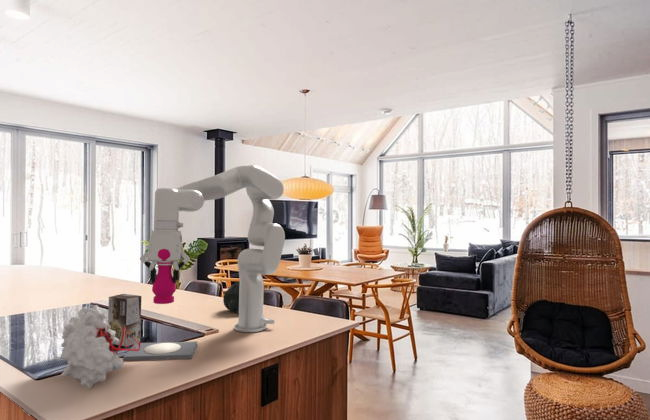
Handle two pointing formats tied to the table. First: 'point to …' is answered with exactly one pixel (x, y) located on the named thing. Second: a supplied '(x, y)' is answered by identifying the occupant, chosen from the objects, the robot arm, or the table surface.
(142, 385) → the table surface
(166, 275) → the pepper mill
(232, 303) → the squash
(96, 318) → the lumpy white molecule
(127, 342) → the electrical box
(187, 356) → the board
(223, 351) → the table surface
